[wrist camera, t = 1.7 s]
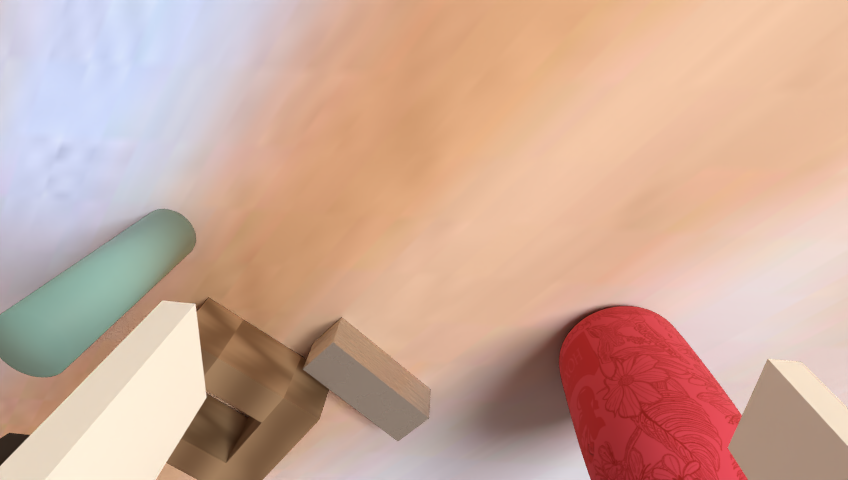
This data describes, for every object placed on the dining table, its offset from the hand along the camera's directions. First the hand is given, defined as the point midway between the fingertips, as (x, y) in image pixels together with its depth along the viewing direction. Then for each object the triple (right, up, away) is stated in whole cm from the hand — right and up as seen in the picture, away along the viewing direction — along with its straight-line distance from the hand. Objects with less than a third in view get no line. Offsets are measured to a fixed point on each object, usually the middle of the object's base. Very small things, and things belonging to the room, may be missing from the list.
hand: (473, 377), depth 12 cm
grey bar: (-5, -7, +31) cm, 32 cm away
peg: (-20, +4, +26) cm, 33 cm away
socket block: (-17, -9, +32) cm, 37 cm away
